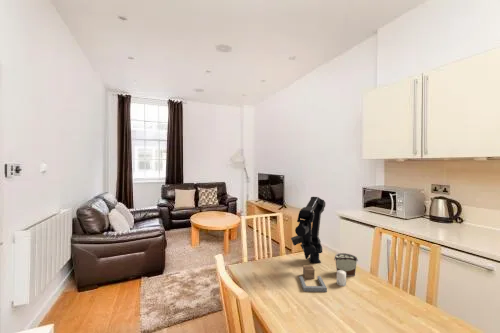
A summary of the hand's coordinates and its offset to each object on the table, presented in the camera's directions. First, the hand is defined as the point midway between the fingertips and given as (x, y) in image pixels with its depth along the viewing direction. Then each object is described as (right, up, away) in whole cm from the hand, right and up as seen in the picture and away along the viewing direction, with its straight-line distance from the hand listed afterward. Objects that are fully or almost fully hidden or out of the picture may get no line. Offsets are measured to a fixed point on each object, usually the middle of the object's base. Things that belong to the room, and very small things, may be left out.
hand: (306, 258), depth 129 cm
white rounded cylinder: (+14, -7, -14) cm, 21 cm away
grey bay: (-1, -7, -14) cm, 16 cm away
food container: (+21, -7, -2) cm, 22 cm away
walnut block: (0, -7, -6) cm, 9 cm away
